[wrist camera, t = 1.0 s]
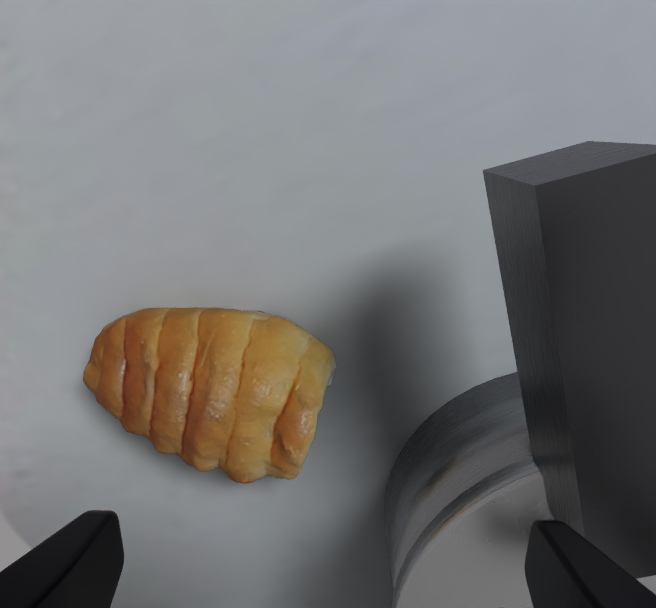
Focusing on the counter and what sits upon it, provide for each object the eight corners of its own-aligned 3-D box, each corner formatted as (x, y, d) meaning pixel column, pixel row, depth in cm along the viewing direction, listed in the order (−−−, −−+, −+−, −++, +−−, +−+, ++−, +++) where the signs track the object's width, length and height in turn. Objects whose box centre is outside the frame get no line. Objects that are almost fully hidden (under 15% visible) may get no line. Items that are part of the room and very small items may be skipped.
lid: (838, 71, 12) (1052, 46, 8) (809, 716, 19) (918, 851, 16) (261, 230, 14) (232, 266, 10) (435, 771, 21) (455, 905, 17)
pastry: (96, 411, 22) (47, 467, 18) (114, 265, 20) (63, 295, 16) (307, 460, 22) (300, 523, 19) (346, 323, 20) (348, 364, 17)
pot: (956, 286, 19) (1163, 339, 14) (526, 700, 27) (566, 822, 22) (667, 86, 17) (794, 70, 12) (294, 597, 25) (283, 707, 20)
